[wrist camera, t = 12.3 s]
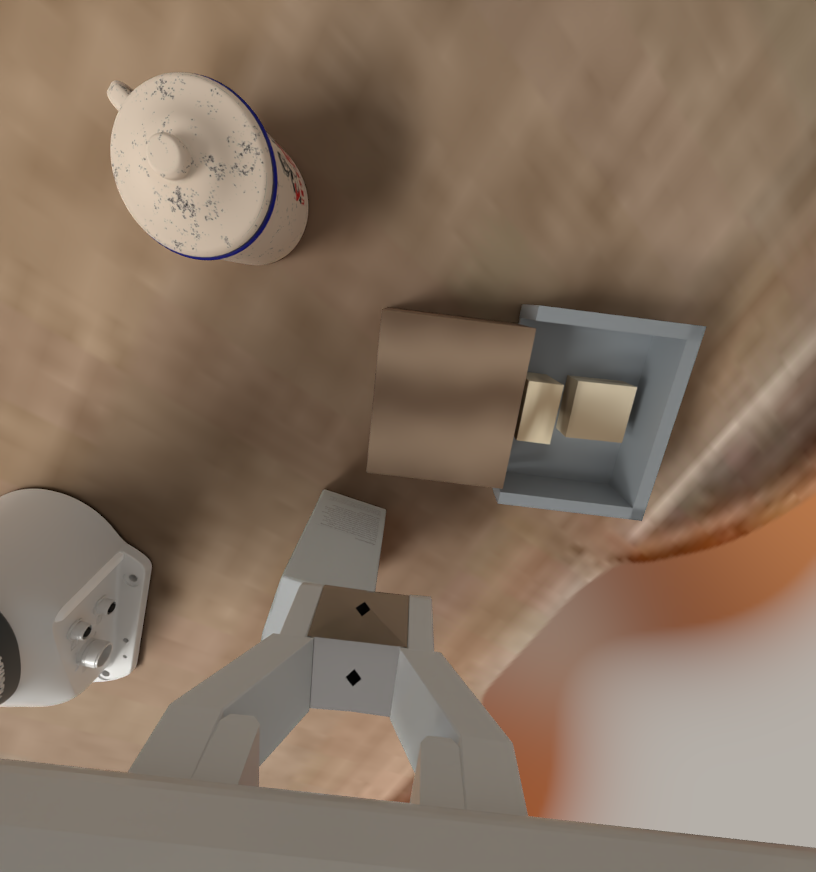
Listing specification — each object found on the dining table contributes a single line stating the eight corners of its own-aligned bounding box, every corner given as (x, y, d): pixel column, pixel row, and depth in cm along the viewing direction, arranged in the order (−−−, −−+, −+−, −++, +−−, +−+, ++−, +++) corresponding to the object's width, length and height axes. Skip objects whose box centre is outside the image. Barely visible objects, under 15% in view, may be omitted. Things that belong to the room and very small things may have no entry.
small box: (362, 576, 42) (338, 695, 29) (300, 557, 41) (249, 669, 29) (389, 508, 39) (375, 605, 27) (323, 486, 39) (278, 574, 26)
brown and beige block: (491, 462, 38) (502, 488, 32) (373, 447, 37) (366, 472, 32) (518, 323, 34) (536, 328, 29) (387, 307, 34) (381, 309, 28)
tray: (614, 492, 38) (641, 520, 33) (488, 477, 38) (497, 503, 33) (665, 322, 34) (706, 326, 29) (522, 304, 33) (539, 305, 29)
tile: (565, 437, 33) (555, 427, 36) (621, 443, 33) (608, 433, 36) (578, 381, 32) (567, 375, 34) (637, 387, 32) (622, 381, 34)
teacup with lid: (338, 199, 31) (293, 146, 20) (265, 294, 34) (189, 293, 23) (203, 66, 29) (71, -75, 18) (135, 178, 31) (-21, 114, 20)
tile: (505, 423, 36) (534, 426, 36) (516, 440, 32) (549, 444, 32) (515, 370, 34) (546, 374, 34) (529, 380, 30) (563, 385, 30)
